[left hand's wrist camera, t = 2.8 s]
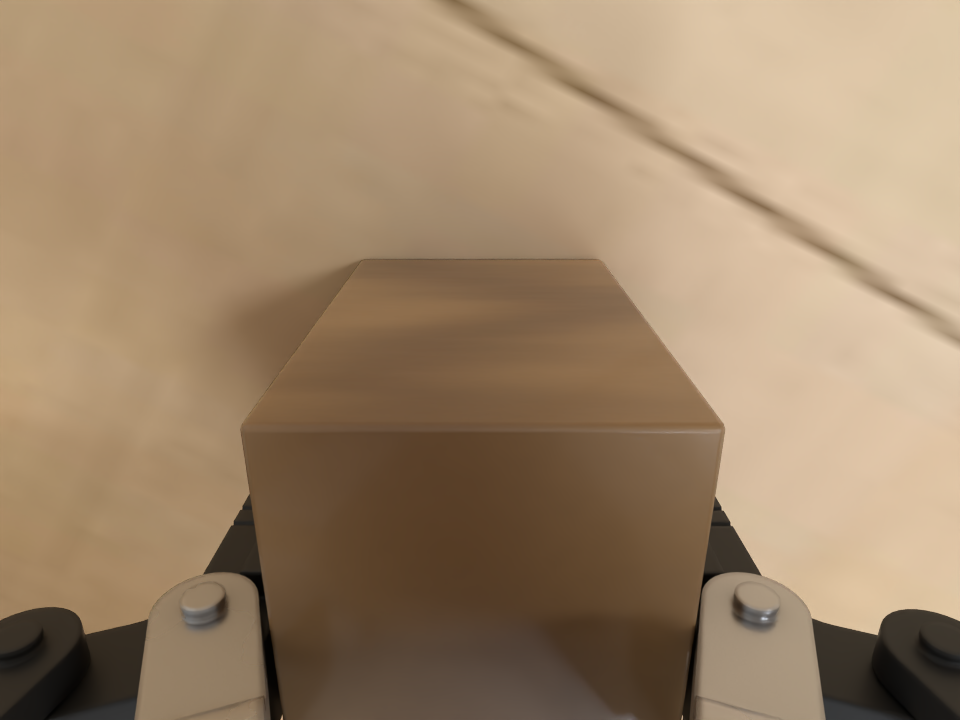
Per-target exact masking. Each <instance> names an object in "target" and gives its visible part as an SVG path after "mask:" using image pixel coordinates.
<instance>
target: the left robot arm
mask: <svg viewBox="0 0 960 720" xmlns="http://www.w3.org/2000/svg"><path fill="white" fill-rule="evenodd" d="M682 715H683V720H960V621H958V620H955V619H953V618H950V617H948V616H945V615H942V614H938V613H935V612H930V611H925V610H917V609H905V610H898V611H895V612H892V613H890V614H889V615H887V616H886V617H885V618H884V619H883V621H882V623H881V626H880V629H879V633H878V635H874V634H869V633H865V632H861V631H856V630H852V629H847V628H843V627H839V626H834V625H831V624H827V623H823V622H820V621H818V620H815V619H812V618H811V614H810V612H809V610H808V608H807V606H806V605H805V603H804V602H803V601H802V600H801V599H800V598H799V597H798V596H797V595H796V594H795V593H794V592H793V591H791V590H790V589H789V588H787V587H785V586H784V585H782V584H780V583H778V582H776V581H774V580H772V579H769V578H766V577H764V576H762V575H761V574H760V572H759V570H758V568H757V567H756V565H755V563H754V562H753V560H752V558H751V557H750V555H749V553H748V551H747V550H746V548H745V546H744V545H743V543H742V541H741V540H740V538H739V536H738V534H737V533H736V531H735V529H734V528H733V526H731V525H730V521H729V519H728V517H727V516H726V514H725V512H724V511H722V510H721V506H720V504H719V502H718V500H717V499H716V497H715V500H714V507H713V513H712V520H711V526H710V533H709V540H708V546H707V553H706V560H705V566H704V573H703V579H702V586H701V593H700V599H699V606H698V613H697V619H696V626H695V633H694V639H693V646H692V652H691V659H690V666H689V672H688V679H687V686H686V692H685V699H684V705H683V712H682ZM281 716H282V708H281V701H280V694H279V687H278V681H277V674H276V667H275V660H274V653H273V647H272V640H271V633H270V626H269V619H268V613H267V606H266V599H265V592H264V585H263V579H262V572H261V565H260V558H259V551H258V545H257V538H256V531H255V524H254V518H253V511H252V504H251V497H250V494H249V496H248V498H247V500H246V501H245V503H244V505H243V509H242V510H240V512H239V513H238V515H237V517H236V519H235V520H234V525H233V526H231V527H230V529H229V531H228V532H227V534H226V536H225V538H224V539H223V541H222V543H221V544H220V546H219V548H218V550H217V551H216V553H215V555H214V557H213V558H212V560H211V562H210V563H209V565H208V567H207V569H206V570H205V572H204V574H203V575H200V576H196V577H194V578H191V579H188V580H186V581H184V582H182V583H180V584H178V585H176V586H175V587H173V588H171V589H170V590H169V591H167V592H166V593H165V594H164V595H163V596H162V597H161V598H160V599H159V600H158V601H157V602H156V603H155V605H154V606H153V608H152V610H151V612H150V614H149V618H148V619H147V620H144V621H141V622H138V623H134V624H130V625H126V626H121V627H117V628H113V629H108V630H104V631H100V632H95V633H91V634H86V635H85V633H84V630H83V626H82V623H81V620H80V618H79V617H78V616H77V615H76V614H75V613H74V612H72V611H70V610H67V609H64V608H57V607H45V608H37V609H32V610H28V611H24V612H21V613H18V614H15V615H12V616H10V617H7V618H5V619H3V620H1V621H0V720H280V719H281Z"/></svg>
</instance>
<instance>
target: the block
mask: <svg viewBox="0 0 960 720" xmlns="http://www.w3.org/2000/svg"><path fill="white" fill-rule="evenodd" d="M724 434H725V427H724V424H723V423H722V421H721V420H720V419H719V417H718V416H717V415H716V413H715V412H714V411H713V409H712V408H711V407H710V405H709V404H708V403H707V401H706V400H705V399H704V397H703V396H702V395H701V393H700V392H699V391H698V389H697V388H696V386H695V385H694V384H693V382H692V381H691V380H690V378H689V377H688V376H687V374H686V373H685V372H684V370H683V369H682V368H681V366H680V365H679V364H678V362H677V361H676V360H675V358H674V357H673V356H672V354H671V353H670V352H669V350H668V349H667V348H666V346H665V345H664V344H663V342H662V341H661V340H660V338H659V337H658V336H657V334H656V333H655V332H654V330H653V329H652V328H651V326H650V325H649V324H648V322H647V321H646V320H645V318H644V317H643V316H642V314H641V313H640V312H639V310H638V309H637V307H636V306H635V305H634V303H633V302H632V301H631V299H630V298H629V297H628V295H627V294H626V293H625V291H624V290H623V289H622V287H621V286H620V285H619V283H618V282H617V281H616V279H615V278H614V277H613V275H612V274H611V273H610V271H609V270H608V269H607V267H606V266H605V265H604V263H603V262H602V261H601V260H362V261H361V262H360V263H359V265H358V266H357V267H356V269H355V270H354V272H353V273H352V274H351V276H350V277H349V278H348V280H347V281H346V282H345V284H344V285H343V287H342V288H341V289H340V291H339V292H338V293H337V295H336V296H335V298H334V299H333V300H332V302H331V303H330V304H329V306H328V307H327V308H326V310H325V311H324V313H323V314H322V315H321V317H320V318H319V319H318V321H317V322H316V324H315V325H314V326H313V328H312V329H311V330H310V332H309V333H308V335H307V336H306V337H305V339H304V340H303V341H302V343H301V344H300V345H299V347H298V348H297V350H296V351H295V352H294V354H293V355H292V356H291V358H290V359H289V361H288V362H287V363H286V365H285V366H284V367H283V369H282V370H281V371H280V373H279V374H278V376H277V377H276V378H275V380H274V381H273V382H272V384H271V385H270V387H269V388H268V389H267V391H266V392H265V393H264V395H263V396H262V397H261V399H260V400H259V402H258V403H257V404H256V406H255V407H254V408H253V410H252V411H251V413H250V414H249V415H248V417H247V418H246V419H245V421H244V422H243V423H242V426H241V436H242V443H243V450H244V456H245V463H246V470H247V477H248V484H249V490H250V497H251V504H252V511H253V518H254V524H255V531H256V538H257V545H258V551H259V558H260V565H261V572H262V579H263V585H264V592H265V599H266V606H267V613H268V619H269V626H270V633H271V640H272V647H273V653H274V660H275V667H276V674H277V681H278V687H279V694H280V701H281V708H282V714H283V720H681V719H682V712H683V705H684V699H685V692H686V686H687V679H688V672H689V666H690V659H691V652H692V646H693V639H694V633H695V626H696V619H697V613H698V606H699V599H700V593H701V586H702V579H703V573H704V566H705V560H706V553H707V546H708V540H709V533H710V526H711V520H712V513H713V507H714V500H715V493H716V487H717V480H718V473H719V467H720V460H721V454H722V447H723V440H724Z"/></svg>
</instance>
